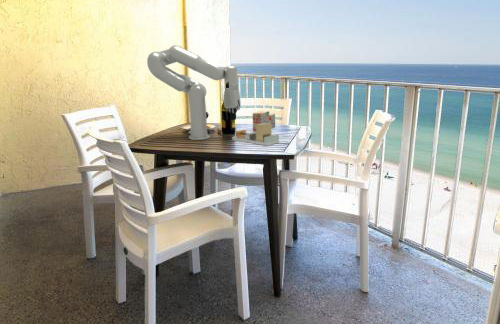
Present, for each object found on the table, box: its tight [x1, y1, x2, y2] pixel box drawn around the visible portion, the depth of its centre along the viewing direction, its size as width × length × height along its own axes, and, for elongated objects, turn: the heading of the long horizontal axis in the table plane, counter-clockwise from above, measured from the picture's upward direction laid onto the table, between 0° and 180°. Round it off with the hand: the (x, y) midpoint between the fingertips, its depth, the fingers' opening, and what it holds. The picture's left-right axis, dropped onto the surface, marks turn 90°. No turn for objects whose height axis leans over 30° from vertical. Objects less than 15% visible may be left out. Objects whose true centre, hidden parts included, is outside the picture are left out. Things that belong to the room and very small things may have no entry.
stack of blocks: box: [252, 110, 276, 133], centre depth 249 cm, size 21×6×12 cm, turn 152°
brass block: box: [256, 123, 272, 142], centre depth 207 cm, size 5×7×9 cm
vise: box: [231, 134, 280, 147], centre depth 213 cm, size 27×10×4 cm, turn 46°
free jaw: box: [235, 129, 256, 140], centre depth 216 cm, size 13×10×3 cm
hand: (233, 119), depth 223 cm, fingers closed
